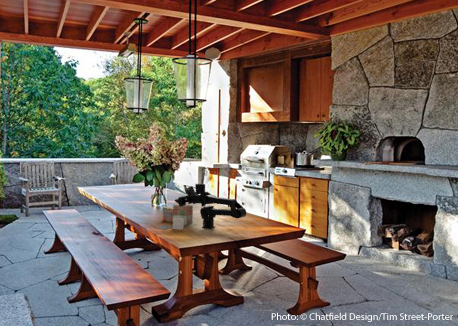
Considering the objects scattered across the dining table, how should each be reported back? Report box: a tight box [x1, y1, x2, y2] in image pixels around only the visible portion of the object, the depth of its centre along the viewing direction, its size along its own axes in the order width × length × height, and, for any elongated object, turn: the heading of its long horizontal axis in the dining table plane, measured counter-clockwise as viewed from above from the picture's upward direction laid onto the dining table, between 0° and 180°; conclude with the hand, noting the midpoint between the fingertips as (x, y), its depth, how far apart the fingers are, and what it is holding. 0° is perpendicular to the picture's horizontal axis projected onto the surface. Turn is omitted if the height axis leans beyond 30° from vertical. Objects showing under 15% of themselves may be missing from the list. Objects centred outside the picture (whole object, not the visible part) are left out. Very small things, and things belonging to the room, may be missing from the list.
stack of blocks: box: [162, 203, 194, 225], centre depth 291 cm, size 21×6×12 cm, turn 60°
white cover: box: [171, 218, 185, 230], centre depth 270 cm, size 7×7×6 cm
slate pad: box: [154, 224, 173, 231], centre depth 272 cm, size 9×9×1 cm
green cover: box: [173, 214, 188, 226], centre depth 281 cm, size 7×7×6 cm
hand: (179, 198), depth 287 cm, fingers open, 9 cm apart
